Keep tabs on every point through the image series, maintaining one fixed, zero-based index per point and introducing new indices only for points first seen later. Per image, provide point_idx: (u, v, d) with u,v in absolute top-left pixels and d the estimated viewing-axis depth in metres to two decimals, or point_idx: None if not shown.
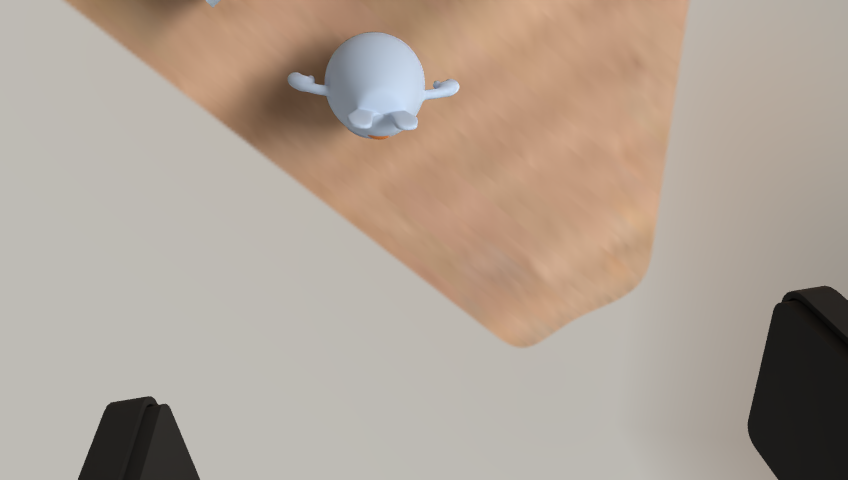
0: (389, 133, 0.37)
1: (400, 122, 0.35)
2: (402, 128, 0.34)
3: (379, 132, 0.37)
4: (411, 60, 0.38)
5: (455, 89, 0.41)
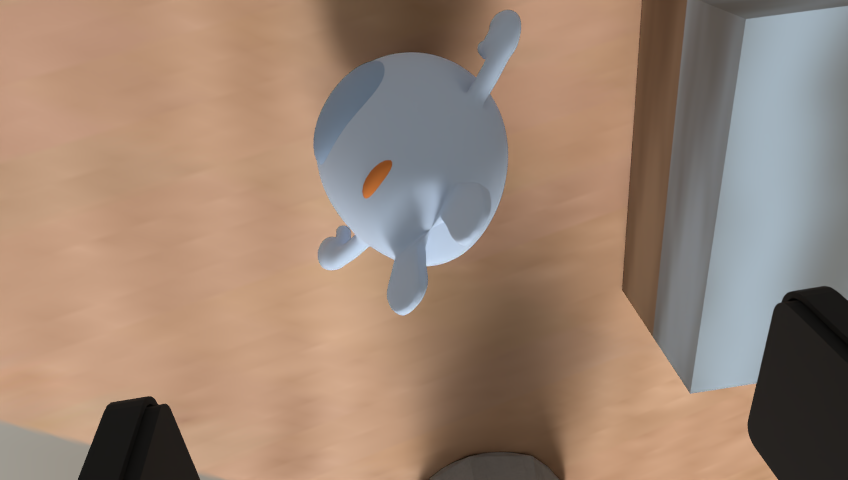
0: (377, 211, 0.17)
1: None
2: (417, 299, 0.15)
3: (393, 198, 0.17)
4: None
5: (329, 269, 0.22)
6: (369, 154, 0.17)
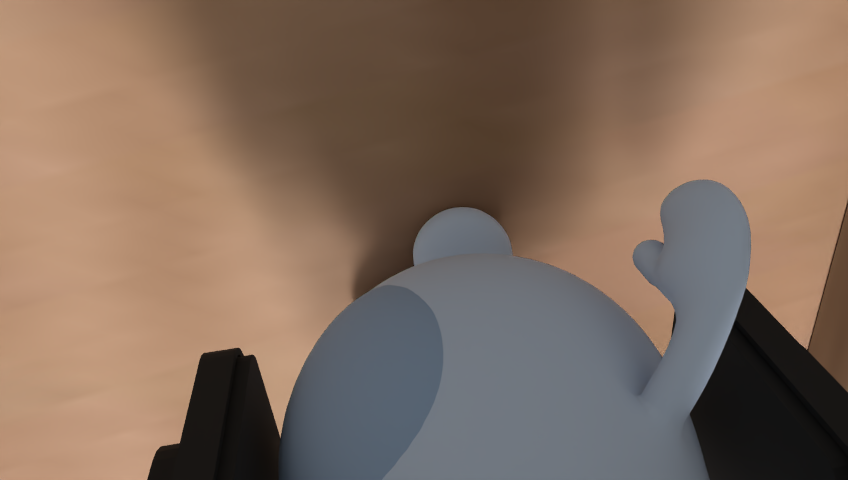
0: None
1: None
2: None
3: None
4: None
5: None
6: None
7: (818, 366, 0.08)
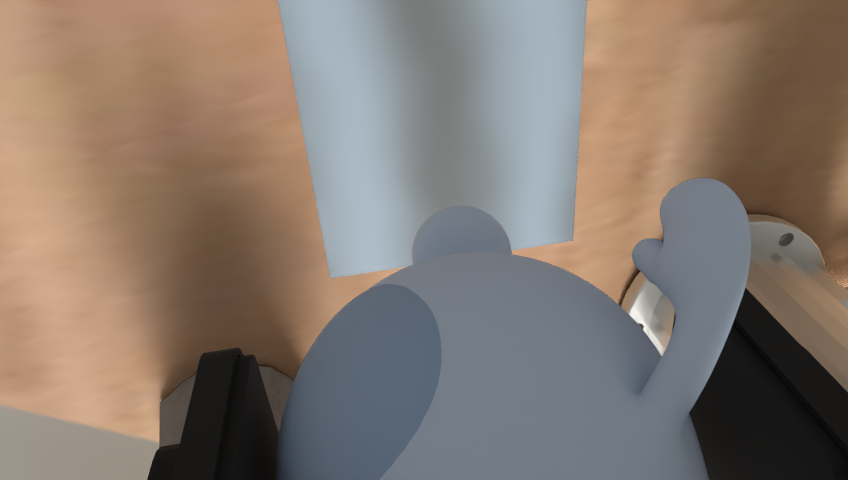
0: None
1: None
2: None
3: None
4: None
5: None
6: None
7: (818, 366, 0.08)
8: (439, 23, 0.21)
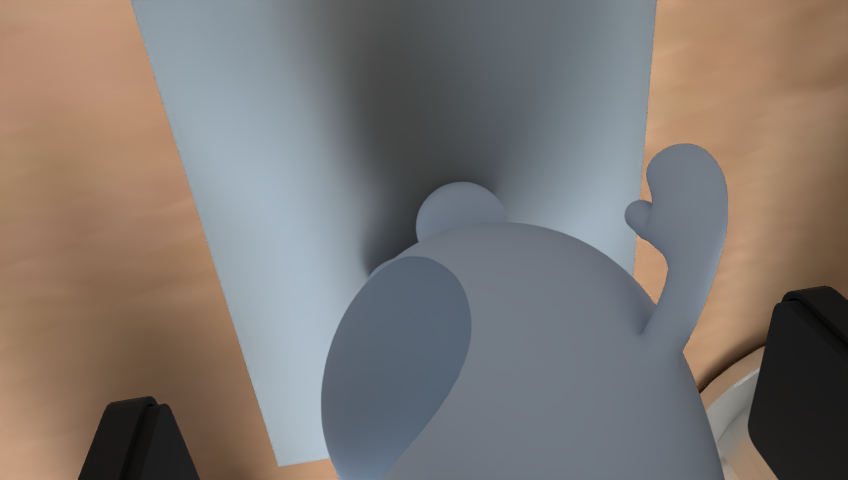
0: None
1: None
2: None
3: None
4: None
5: None
6: None
7: None
8: (421, 131, 0.14)
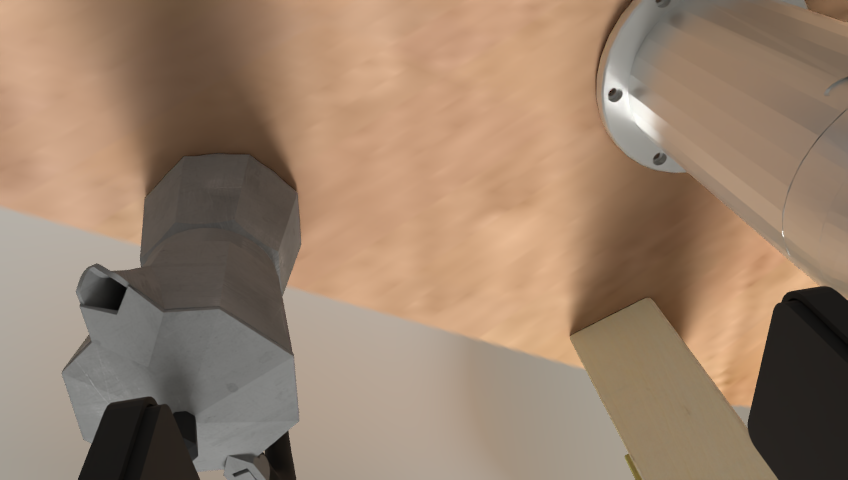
0: None
1: None
2: None
3: None
4: None
5: None
6: None
7: None
8: None
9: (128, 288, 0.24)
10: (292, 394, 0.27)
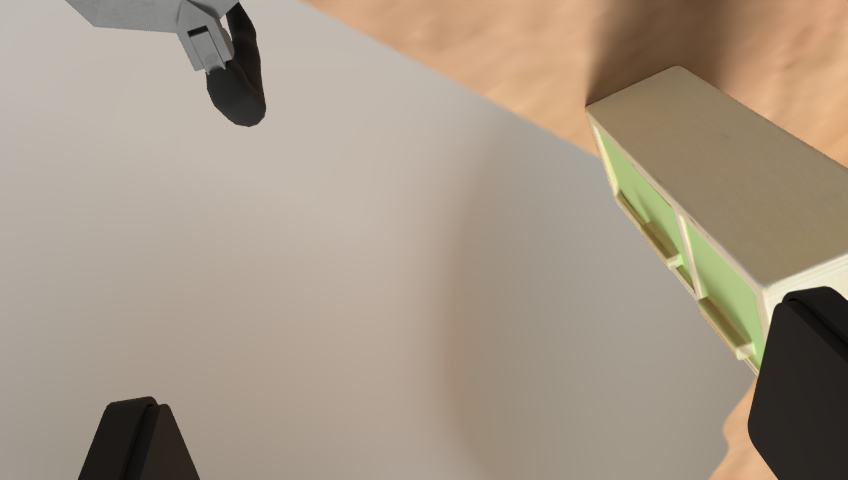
0: None
1: None
2: None
3: None
4: None
5: None
6: None
7: None
8: None
9: None
10: None
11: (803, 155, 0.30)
